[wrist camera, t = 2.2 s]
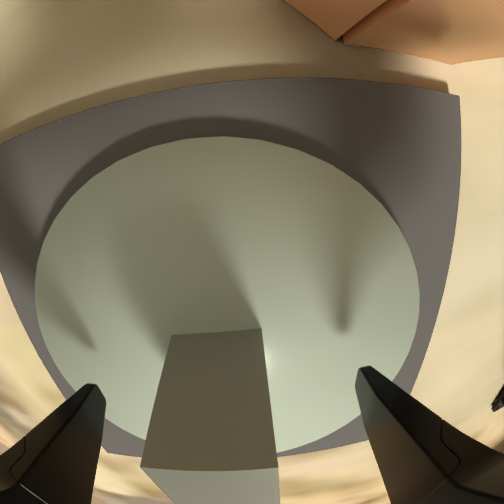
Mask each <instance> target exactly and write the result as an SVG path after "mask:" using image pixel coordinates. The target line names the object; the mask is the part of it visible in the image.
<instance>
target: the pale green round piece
mask: <svg viewBox="0 0 504 504" xmlns="http://www.w3.org/2000/svg"><path fill="white" fill-rule="evenodd" d="M419 302H420V292H419V284H418V276H417V270H416V267H415V264H414V260H413V257H412V254H411V251H410V248H409V246H408V244H407V242H406V240H405V238H404V236H403V234H402V232H401V230H400V229H399V227H398V225H397V224H396V222H395V221H394V220H393V218H392V217H391V216H390V214H389V213H388V212H387V210H386V209H385V208H384V207H383V205H382V204H381V203H380V202H379V201H378V200H377V199H376V198H375V197H374V196H373V195H372V194H371V193H369V192H368V191H367V190H366V189H365V188H364V187H363V186H362V185H361V184H360V183H358V182H357V181H355V180H354V179H353V178H351V177H350V176H348V175H347V174H345V173H344V172H342V171H341V170H339V169H337V168H336V167H334V166H333V165H331V164H329V163H327V162H325V161H323V160H320V159H318V158H316V157H314V156H311V155H309V154H307V153H305V152H302V151H300V150H297V149H294V148H290V147H287V146H283V145H279V144H275V143H271V142H268V141H263V140H259V139H249V138H239V137H228V136H219V137H203V138H189V139H183V140H179V141H174V142H170V143H166V144H162V145H157V146H153V147H150V148H147V149H145V150H142V151H140V152H137V153H135V154H133V155H130V156H128V157H126V158H123V159H121V160H119V161H117V162H115V163H114V164H112V165H111V166H109V167H108V168H106V169H104V170H103V171H101V172H100V173H98V174H97V175H95V176H94V177H92V178H91V179H90V180H89V181H88V182H87V183H86V184H84V185H83V186H82V187H81V188H80V189H79V190H78V191H77V192H76V193H75V194H74V195H73V196H72V197H71V198H70V199H69V200H68V202H67V203H66V204H65V206H64V207H63V208H62V210H61V211H60V212H59V214H58V215H57V217H56V218H55V219H54V221H53V223H52V225H51V227H50V229H49V231H48V233H47V235H46V237H45V239H44V242H43V245H42V248H41V252H40V255H39V258H38V262H37V268H36V276H35V307H36V312H37V318H38V323H39V327H40V330H41V333H42V336H43V339H44V342H45V345H46V347H47V349H48V351H49V353H50V355H51V357H52V359H53V361H54V363H55V364H56V366H57V368H58V369H59V371H60V372H61V374H62V375H63V377H64V378H65V379H66V381H67V382H68V383H69V384H70V386H71V387H72V388H73V389H74V390H75V392H76V391H78V390H79V389H80V388H81V387H82V386H83V385H85V384H86V383H93V384H97V385H98V387H99V388H100V390H101V392H102V393H103V395H104V397H105V399H106V411H105V418H106V419H107V420H109V421H110V422H112V423H113V424H115V425H117V426H118V427H120V428H121V429H123V430H125V431H127V432H129V433H131V434H133V435H135V436H137V437H139V438H141V439H144V440H146V441H145V445H144V450H143V455H142V460H141V465H140V467H141V468H142V470H143V471H144V472H145V473H146V474H147V475H148V476H149V477H150V478H151V480H152V481H153V482H154V483H155V484H156V485H157V486H158V487H159V488H160V489H161V490H162V491H163V492H164V493H165V494H166V495H167V496H168V497H169V498H170V499H171V500H172V501H173V502H174V503H175V504H280V492H279V472H278V461H277V453H278V452H282V451H286V450H290V449H293V448H297V447H300V446H303V445H306V444H308V443H311V442H313V441H316V440H318V439H320V438H322V437H325V436H327V435H329V434H331V433H333V432H334V431H336V430H338V429H340V428H341V427H343V426H345V425H346V424H348V423H349V422H351V421H352V420H353V419H355V418H356V417H357V416H359V415H360V414H361V411H360V407H359V403H358V399H357V395H356V391H355V381H356V376H357V371H358V369H359V368H360V367H364V366H372V367H373V368H375V369H376V370H377V371H379V372H380V373H381V374H383V375H384V376H385V377H387V378H388V379H389V380H391V381H393V379H394V378H395V376H396V375H397V374H398V372H399V371H400V369H401V367H402V365H403V363H404V361H405V359H406V357H407V355H408V353H409V351H410V348H411V345H412V342H413V339H414V336H415V333H416V328H417V323H418V317H419Z"/></svg>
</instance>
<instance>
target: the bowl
mask: <svg viewBox="0 0 504 504" xmlns="http://www.w3.org/2000/svg"><path fill="white" fill-rule="evenodd" d="M284 1H285V2H287V3H288V4H290V5H291V6H292V7H294V8H295V9H296V10H298V11H299V12H301V13H302V14H303V15H304V16H306V17H307V18H308V19H310V20H311V21H312V22H313V23H315V24H316V25H317V26H318V27H320V28H321V29H322V30H323V31H325V32H326V33H327V34H328V35H329V36H330V37H332V38H333V39H334V40H336V39H338V38H339V37H340V36H341V35H343V42H344V44H345V45H355V46H363V47H371V48H378V49H384V50H390V51H396V52H401V53H406V54H411V55H416V56H420V57H425V58H429V59H433V60H437V61H440V62H444V63H448V64H457V63H463V62H469V61H476V60H484V59H492V58H501V57H504V0H284Z"/></svg>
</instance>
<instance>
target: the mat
mask: <svg viewBox="0 0 504 504" xmlns="http://www.w3.org/2000/svg"><path fill="white" fill-rule="evenodd" d="M219 136H228V137H239V138H249V139H259V140H263V141H268V142H271V143H275V144H279V145H283V146H287V147H290V148H294V149H297V150H300V151H302V152H305V153H307V154H309V155H311V156H314V157H316V158H318V159H320V160H323V161H325V162H327V163H329V164H331V165H333V166H334V167H336V168H337V169H339V170H341V171H342V172H344V173H345V174H347V175H348V176H350V177H351V178H353V179H354V180H355V181H357V182H358V183H360V184H361V185H362V186H363V187H364V188H365V189H366V190H367V191H368V192H369V193H371V194H372V195H373V196H374V197H375V198H376V199H377V200H378V201H379V202H380V203H381V204H382V205H383V207H384V208H385V209H386V210H387V212H388V213H389V214H390V216H391V217H392V218H393V220H394V221H395V222H396V224H397V225H398V227H399V229H400V230H401V232H402V234H403V236H404V238H405V240H406V242H407V244H408V246H409V248H410V251H411V254H412V257H413V260H414V264H415V267H416V270H417V276H418V284H419V292H420V302H419V317H418V323H417V328H416V333H415V336H414V339H413V342H412V345H411V348H410V351H409V353H408V355H407V357H406V359H405V361H404V363H403V365H402V367H401V369H400V371H399V372H398V374H397V375H396V376H395V378H394V379H393V381H392V382H393V383H395V384H396V385H397V386H399V387H400V388H401V389H403V390H404V391H405V392H407V393H408V394H409V395H410V393H411V391H412V388H413V386H414V383H415V381H416V378H417V376H418V373H419V371H420V368H421V365H422V362H423V360H424V357H425V354H426V351H427V348H428V345H429V342H430V339H431V336H432V332H433V329H434V326H435V322H436V319H437V315H438V312H439V308H440V304H441V300H442V296H443V292H444V288H445V283H446V279H447V274H448V269H449V264H450V259H451V253H452V247H453V241H454V235H455V227H456V220H457V211H458V201H459V189H460V173H461V114H460V99H459V96H457V95H453V94H449V93H444V92H439V91H434V90H429V89H424V88H418V87H412V86H406V85H399V84H392V83H383V82H374V81H364V80H351V79H333V78H271V79H253V80H240V81H229V82H219V83H211V84H203V85H196V86H189V87H183V88H177V89H172V90H166V91H161V92H156V93H151V94H146V95H142V96H137V97H133V98H129V99H125V100H121V101H117V102H113V103H110V104H106V105H103V106H99V107H96V108H92V109H89V110H86V111H83V112H80V113H77V114H74V115H71V116H68V117H65V118H62V119H59V120H56V121H54V122H51V123H48V124H46V125H43V126H41V127H38V128H36V129H33V130H31V131H29V132H26V133H24V134H22V135H19V136H17V137H15V138H13V139H11V140H8V141H6V142H4V143H2V144H0V272H1V274H2V277H3V280H4V282H5V285H6V288H7V290H8V293H9V295H10V297H11V300H12V302H13V304H14V307H15V309H16V311H17V313H18V316H19V318H20V320H21V322H22V324H23V326H24V328H25V330H26V332H27V334H28V336H29V338H30V340H31V342H32V344H33V346H34V348H35V350H36V351H37V353H38V355H39V357H40V359H41V360H42V362H43V364H44V366H45V367H46V369H47V371H48V372H49V374H50V376H51V377H52V379H53V380H54V382H55V383H56V385H57V387H58V388H59V390H60V391H61V393H62V394H63V396H64V397H65V399H66V400H67V399H68V398H69V397H71V396H72V395H73V394H74V393H75V390H74V389H73V388H72V387H71V386H70V384H69V383H68V382H67V381H66V379H65V378H64V377H63V375H62V374H61V372H60V371H59V369H58V368H57V366H56V364H55V363H54V361H53V359H52V357H51V355H50V353H49V351H48V349H47V347H46V345H45V342H44V339H43V336H42V333H41V330H40V327H39V323H38V318H37V312H36V307H35V276H36V268H37V262H38V258H39V255H40V252H41V248H42V245H43V242H44V239H45V237H46V235H47V233H48V231H49V229H50V227H51V225H52V223H53V221H54V219H55V218H56V217H57V215H58V214H59V212H60V211H61V210H62V208H63V207H64V206H65V204H66V203H67V202H68V200H69V199H70V198H71V197H72V196H73V195H74V194H75V193H76V192H77V191H78V190H79V189H80V188H81V187H82V186H83V185H84V184H86V183H87V182H88V181H89V180H90V179H91V178H92V177H94V176H95V175H97V174H98V173H100V172H101V171H103V170H104V169H106V168H108V167H109V166H111V165H112V164H114V163H115V162H117V161H119V160H121V159H123V158H126V157H128V156H130V155H133V154H135V153H137V152H140V151H142V150H145V149H147V148H150V147H153V146H157V145H162V144H166V143H170V142H174V141H179V140H183V139H189V138H203V137H219ZM366 440H369V439H368V436H367V433H366V430H365V427H364V424H363V420H362V416H361V414H360V415H359V416H357V417H356V418H355V419H353V420H352V421H351V422H349V423H348V424H346V425H345V426H343V427H341V428H340V429H338V430H336V431H334V432H333V433H331V434H329V435H327V436H325V437H322V438H320V439H318V440H316V441H313V442H311V443H308V444H306V445H303V446H300V447H297V448H293V449H290V450H286V451H282V452H278V453H277V457H281V456H289V455H296V454H303V453H309V452H315V451H321V450H326V449H331V448H336V447H341V446H345V445H349V444H354V443H358V442H362V441H366ZM145 441H146V440H144V439H141V438H139V437H137V436H135V435H133V434H131V433H129V432H127V431H125V430H123V429H121V428H120V427H118V426H117V425H115V424H113V423H112V422H110V421H109V420H107V419H106V418H105V419H104V429H103V437H102V443H101V446H102V447H103V448H104V449H105V450H106V452H107V453H113V454H119V455H126V456H134V457H142V455H143V450H144V445H145Z"/></svg>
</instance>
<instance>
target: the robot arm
mask: <svg viewBox="0 0 504 504" xmlns="http://www.w3.org/2000/svg"><path fill="white" fill-rule="evenodd" d="M355 391H356V395H357V399H358V403H359V407H360V411H361V416H362V420H363V424H364V427H365V430H366V433H367V436H368V439H369V441H370V444H371V447H372V450H373V452H374V455H375V458H376V461H377V464H378V467H379V469H380V472H381V475H382V478H383V481H384V484H385V487H386V490H387V493H388V496H389V499H390V502H391V504H504V454H503V453H500V452H498V451H495V450H493V449H491V448H490V447H488V446H486V445H484V444H482V443H480V442H478V441H476V440H475V439H473V438H471V437H469V436H468V435H466V434H464V433H462V432H461V431H459V430H458V429H456V428H455V427H453V426H452V425H450V424H449V423H448V422H446V421H445V420H442V418H441V417H439V416H438V415H437V414H435V413H434V412H432V411H431V410H430V409H428V408H427V407H426V406H424V405H423V404H422V403H420V402H419V401H418V400H416V399H415V398H413V397H412V396H411V395H409V394H408V393H407V392H405V391H404V390H403V389H401V388H400V387H399V386H397V385H396V384H395V383H393V382H392V381H391V380H389V379H388V378H387V377H385V376H384V375H383V374H381V373H380V372H379V371H377V370H376V369H375V368H373V367H372V366H364V367H360V368H359V369H358V371H357V376H356V381H355ZM503 406H504V389H503V391H502V392H501V394H500V396H499V397H498V399H497V400H496V402H495V403H494V405H493V406H492V408H491V409H492V411H493V412H495V411H497V410H498V409H500V408H502V407H503ZM105 411H106V399H105V397H104V395H103V393H102V392H101V390H100V388H99V387H98V385H97V384H93V383H86V384H85V385H83V386H82V387H81V388H80V389H79V390H78V391H76V392H75V393H74V394H73V395H72V396H71V397H69V398H68V399H67V400H66V401H65V402H64V403H62V404H61V405H60V406H59V407H58V408H57V409H55V410H54V411H53V412H52V413H51V414H50V415H48V416H47V417H46V418H45V419H44V420H43V421H42V422H40V423H39V424H38V425H37V426H36V427H35V428H33V429H32V430H31V431H30V432H29V433H28V434H26V436H24V437H23V438H22V439H21V440H20V441H18V442H17V443H16V444H15V445H13V446H12V447H11V448H10V449H8V450H7V451H6V452H4V453H3V454H2V455H0V504H91V499H92V493H93V486H94V480H95V474H96V469H97V463H98V458H99V453H100V448H101V443H102V437H103V429H104V419H105Z"/></svg>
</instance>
